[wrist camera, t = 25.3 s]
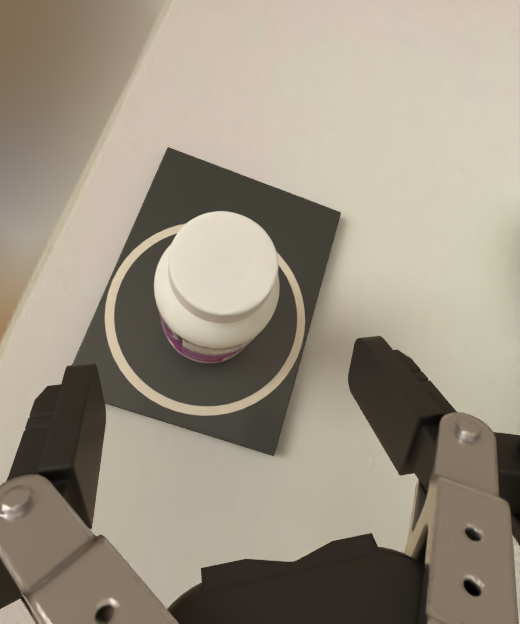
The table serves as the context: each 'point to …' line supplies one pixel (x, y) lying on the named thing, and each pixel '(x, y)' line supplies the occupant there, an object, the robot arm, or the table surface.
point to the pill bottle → (216, 286)
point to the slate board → (148, 327)
